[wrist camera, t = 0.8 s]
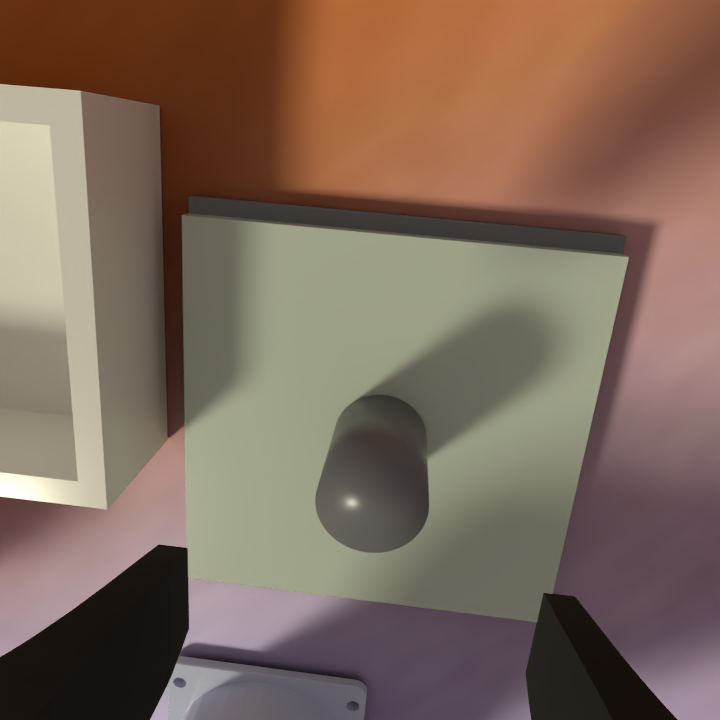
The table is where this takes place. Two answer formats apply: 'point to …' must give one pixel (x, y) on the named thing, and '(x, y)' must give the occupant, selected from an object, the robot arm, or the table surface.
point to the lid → (387, 410)
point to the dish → (79, 294)
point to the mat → (408, 224)
